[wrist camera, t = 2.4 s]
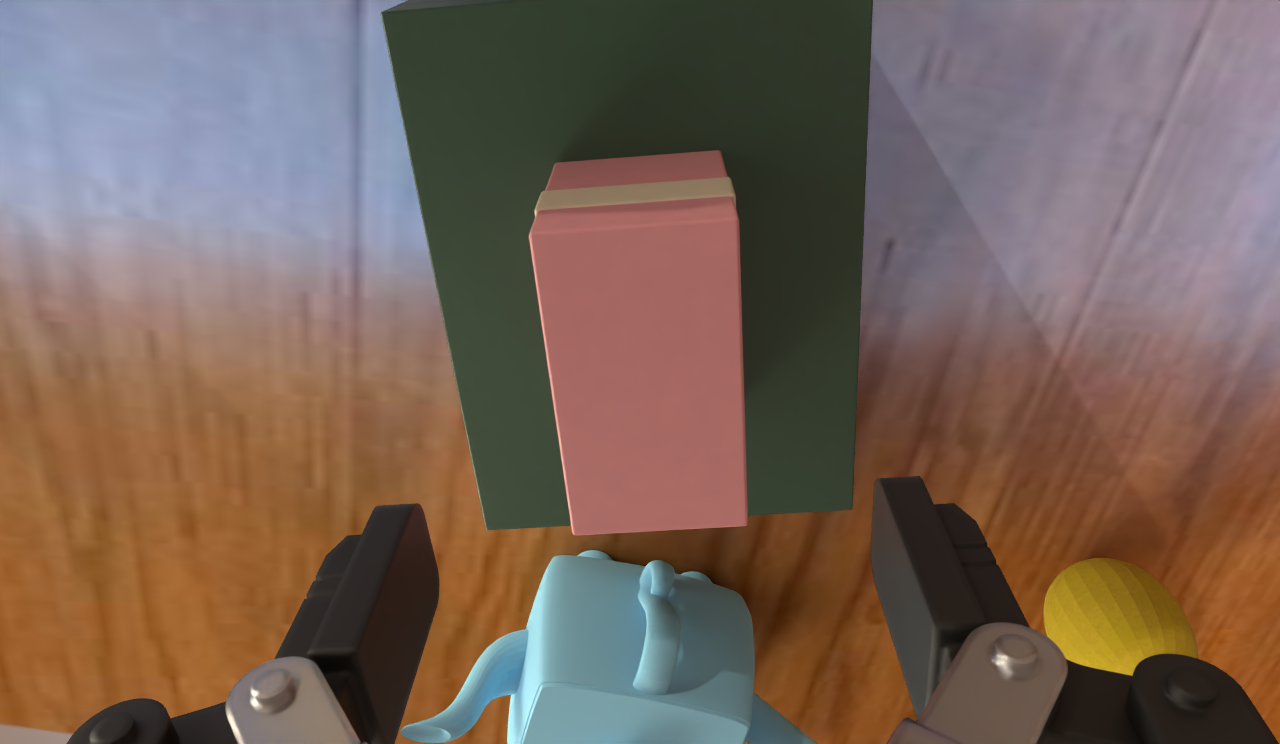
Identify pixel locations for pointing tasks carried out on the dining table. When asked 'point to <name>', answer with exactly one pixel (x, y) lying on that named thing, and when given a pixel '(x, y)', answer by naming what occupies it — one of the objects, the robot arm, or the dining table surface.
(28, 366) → the dining table surface
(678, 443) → the block
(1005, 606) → the robot arm
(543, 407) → the shelf stand
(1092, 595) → the lemon
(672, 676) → the teapot
